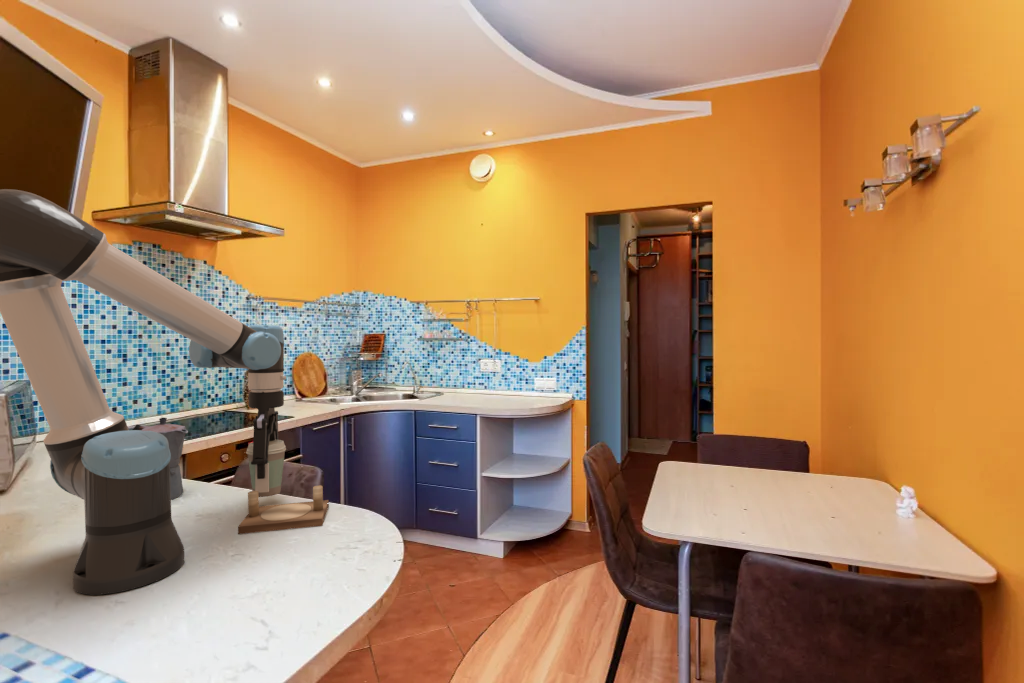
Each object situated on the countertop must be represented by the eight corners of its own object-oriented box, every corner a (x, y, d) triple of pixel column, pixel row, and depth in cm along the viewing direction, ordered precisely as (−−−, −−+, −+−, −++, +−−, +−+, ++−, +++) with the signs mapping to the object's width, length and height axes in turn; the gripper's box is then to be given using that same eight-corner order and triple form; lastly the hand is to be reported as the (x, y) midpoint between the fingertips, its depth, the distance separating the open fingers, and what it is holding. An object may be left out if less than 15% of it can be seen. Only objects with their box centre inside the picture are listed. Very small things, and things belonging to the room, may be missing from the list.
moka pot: (177, 503, 120) (174, 420, 120) (114, 504, 121) (111, 421, 120) (202, 490, 130) (200, 414, 129) (144, 491, 130) (141, 414, 130)
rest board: (322, 525, 105) (321, 494, 105) (238, 534, 101) (237, 502, 101) (328, 506, 117) (328, 478, 117) (253, 513, 113) (252, 484, 113)
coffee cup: (293, 488, 122) (293, 439, 122) (273, 499, 114) (273, 446, 114) (260, 487, 123) (260, 438, 123) (238, 498, 115) (237, 446, 115)
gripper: (273, 394, 110) (274, 498, 110) (291, 386, 129) (291, 474, 129) (235, 395, 108) (236, 501, 108) (259, 386, 128) (260, 476, 128)
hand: (266, 486), depth 119 cm, fingers closed on coffee cup, 8 cm apart
